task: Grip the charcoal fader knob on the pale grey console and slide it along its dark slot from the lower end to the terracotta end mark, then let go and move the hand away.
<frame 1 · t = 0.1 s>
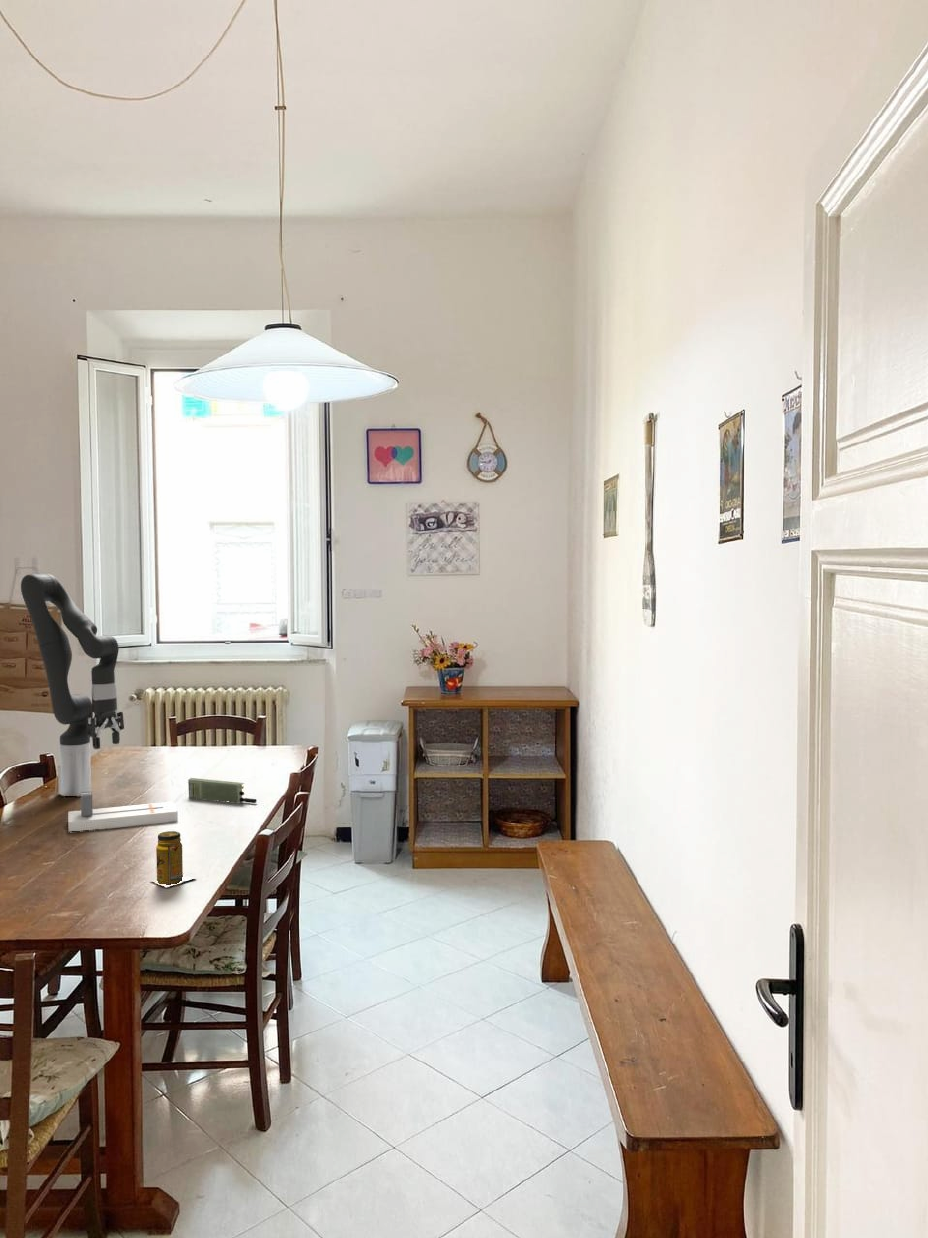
hand: (106, 746, 295), 17 cm above the table, tool pointing down, fingers open, 8 cm apart
condiment: (173, 882, 220), on the table
fader: (86, 803, 265), point 6 cm above the table, slide at 0.0 cm
handheld radio: (222, 802, 294), on the table
console: (123, 821, 270), on the table
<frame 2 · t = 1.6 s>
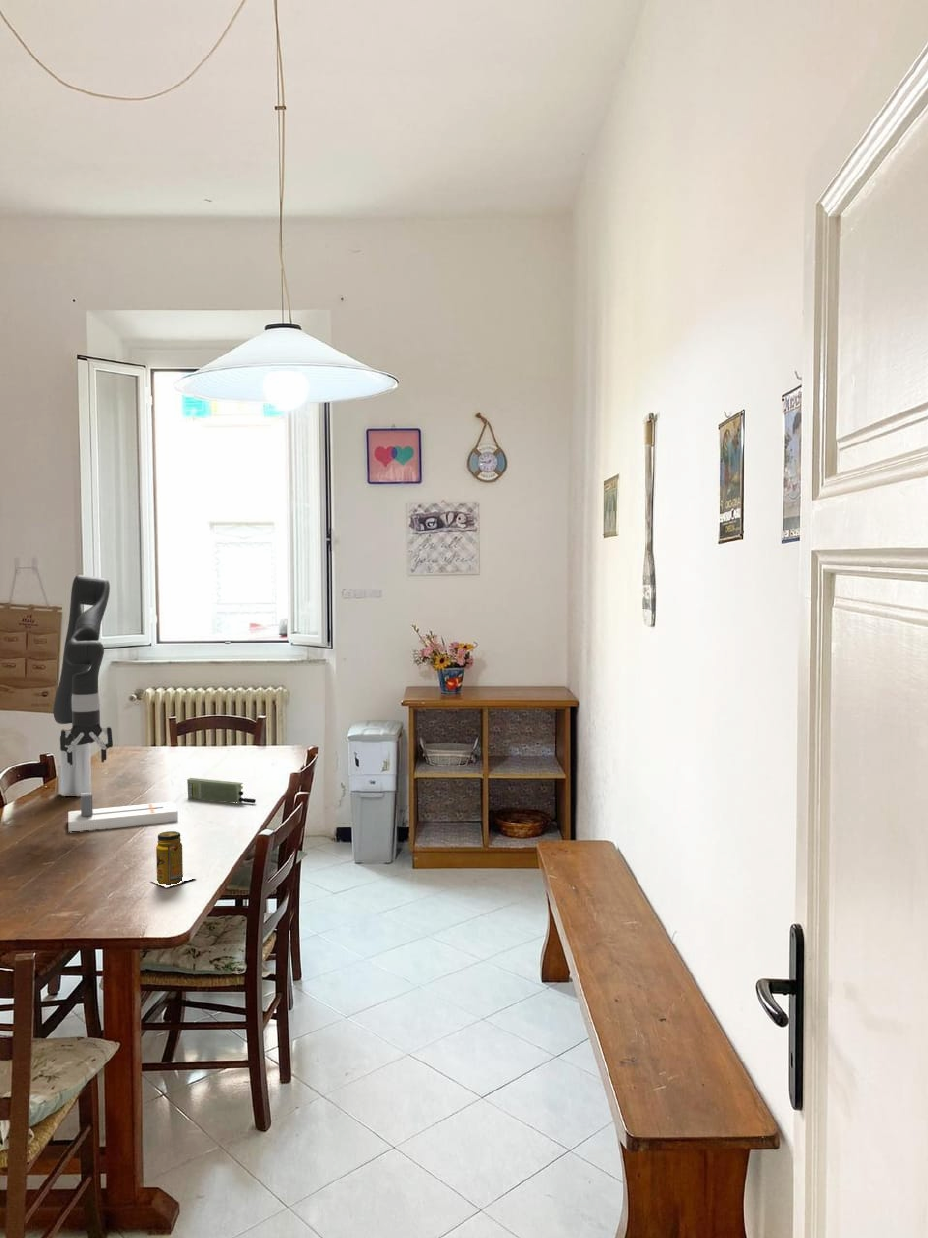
hand: (87, 763, 265), 18 cm above the table, tool pointing down, fingers open, 8 cm apart
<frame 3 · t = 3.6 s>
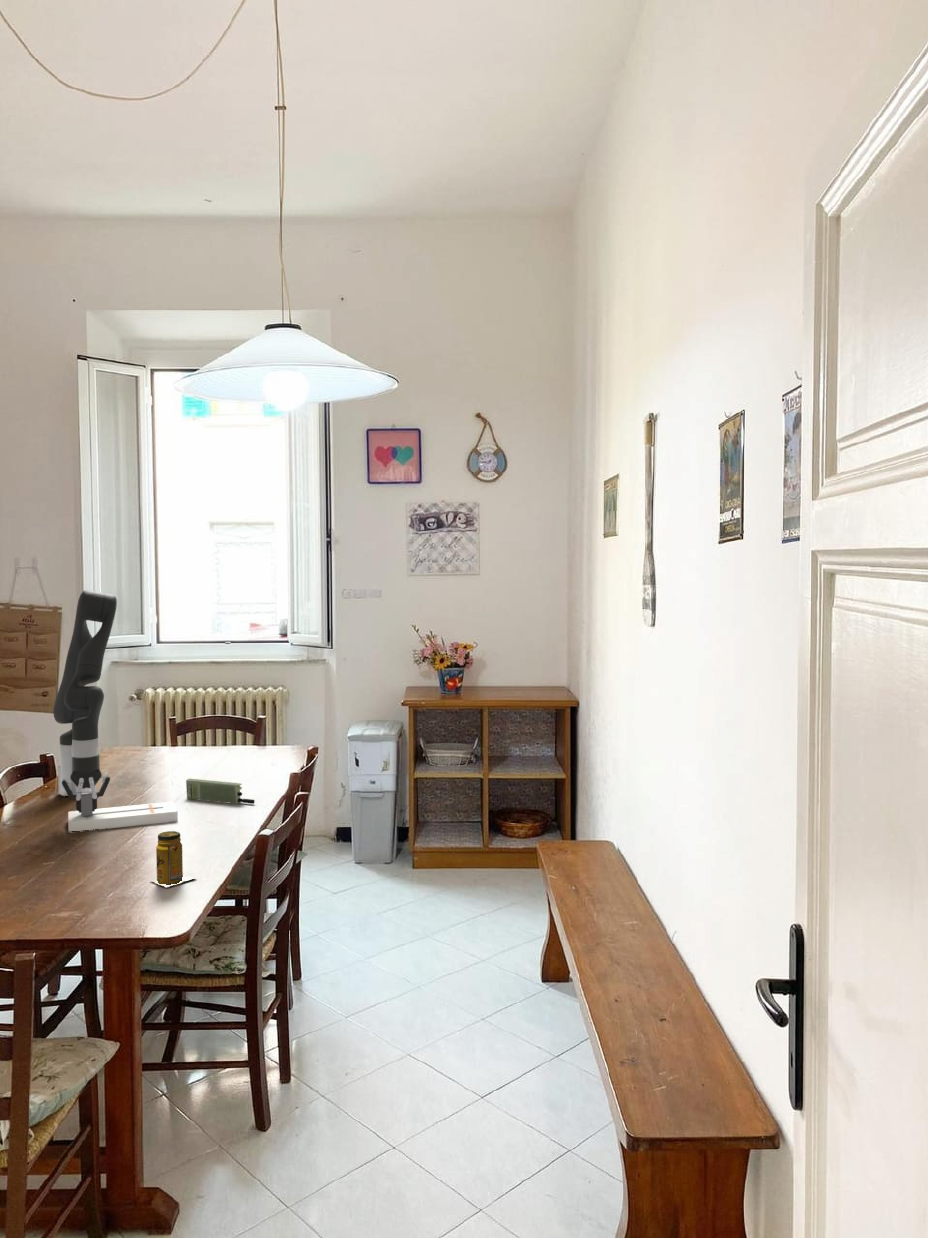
hand: (86, 811, 266), 4 cm above the table, tool pointing down, fingers closed on fader, 3 cm apart
fader: (86, 803, 265), point 6 cm above the table, slide at 0.0 cm, touching gripper
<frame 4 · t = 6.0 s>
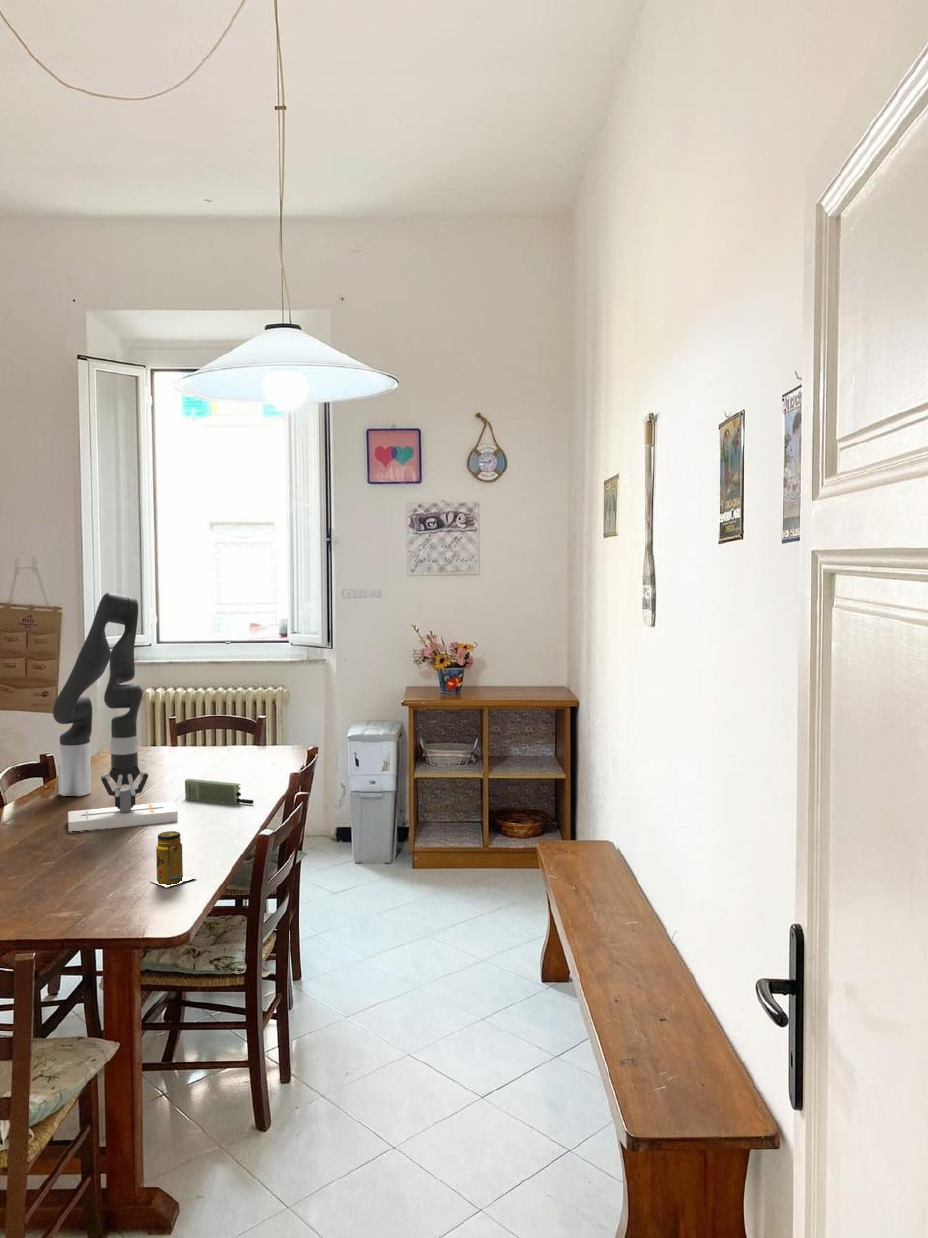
hand: (125, 807, 270), 4 cm above the table, tool pointing down, fingers closed on fader, 3 cm apart
fader: (125, 800, 270), point 6 cm above the table, slide at 10.6 cm, touching gripper
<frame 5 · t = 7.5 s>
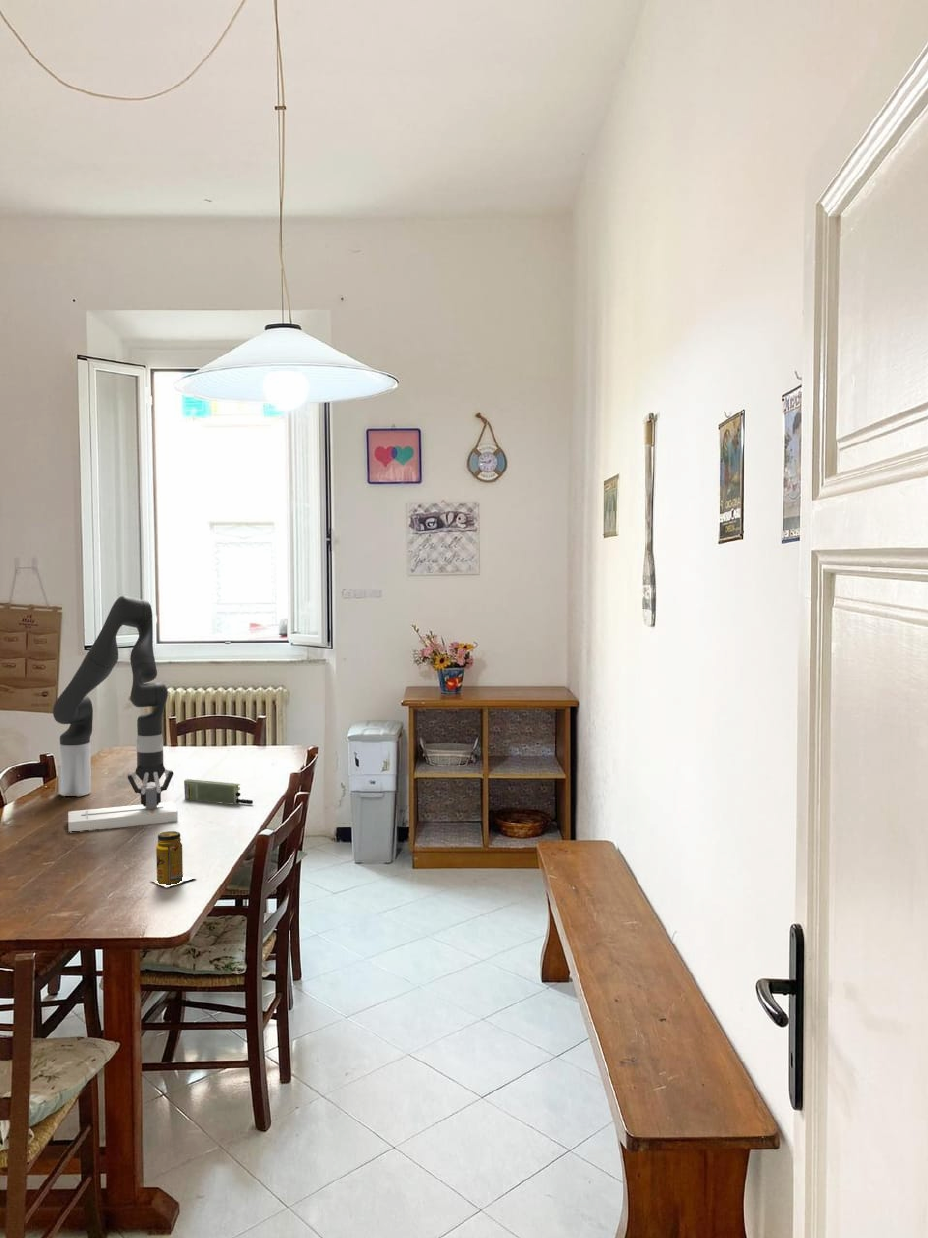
hand: (150, 805, 273), 4 cm above the table, tool pointing down, fingers closed on fader, 3 cm apart
fader: (150, 797, 273), point 6 cm above the table, slide at 17.9 cm, touching gripper
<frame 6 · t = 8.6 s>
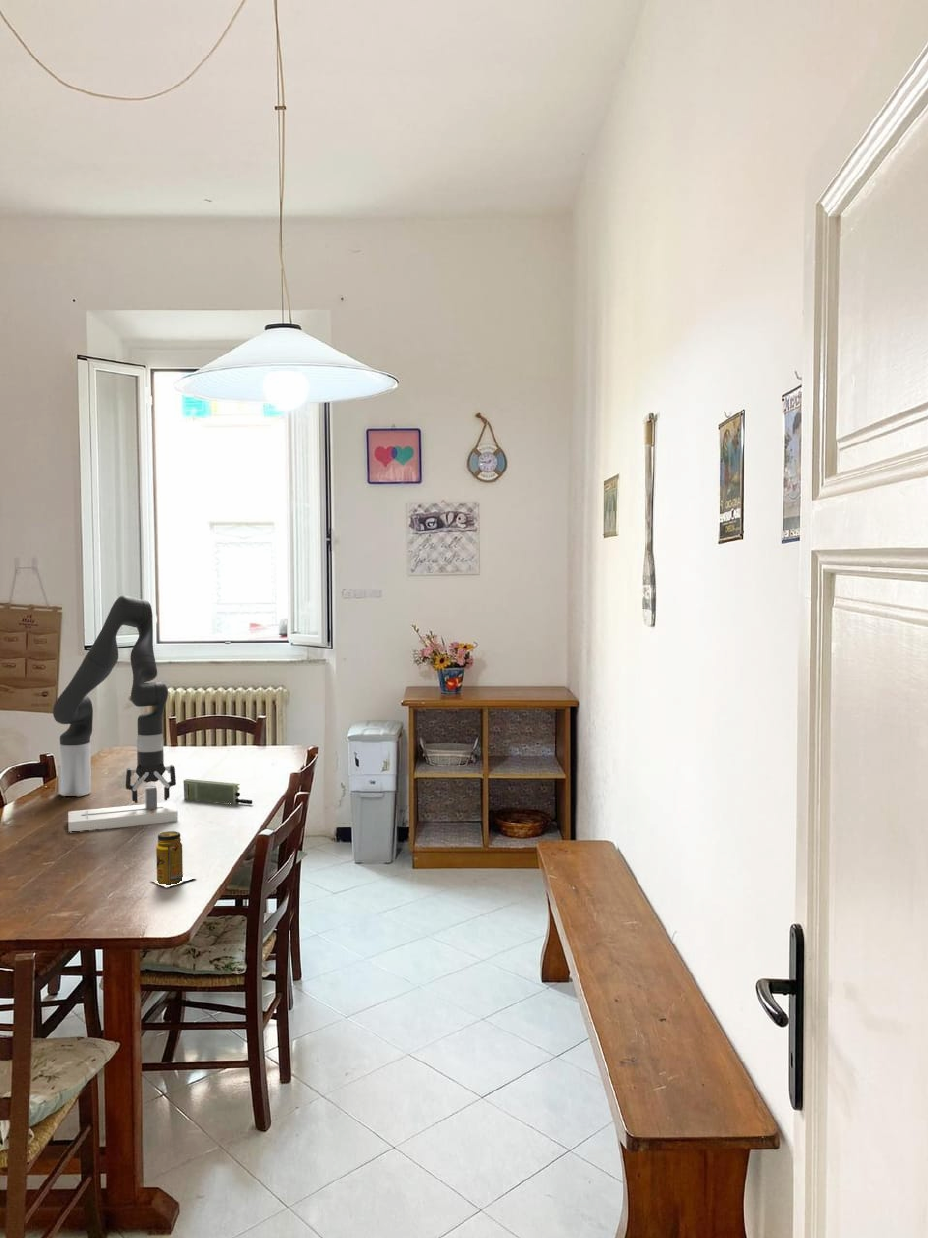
hand: (151, 801, 273), 5 cm above the table, tool pointing down, fingers open, 8 cm apart
fader: (150, 797, 273), point 6 cm above the table, slide at 18.0 cm
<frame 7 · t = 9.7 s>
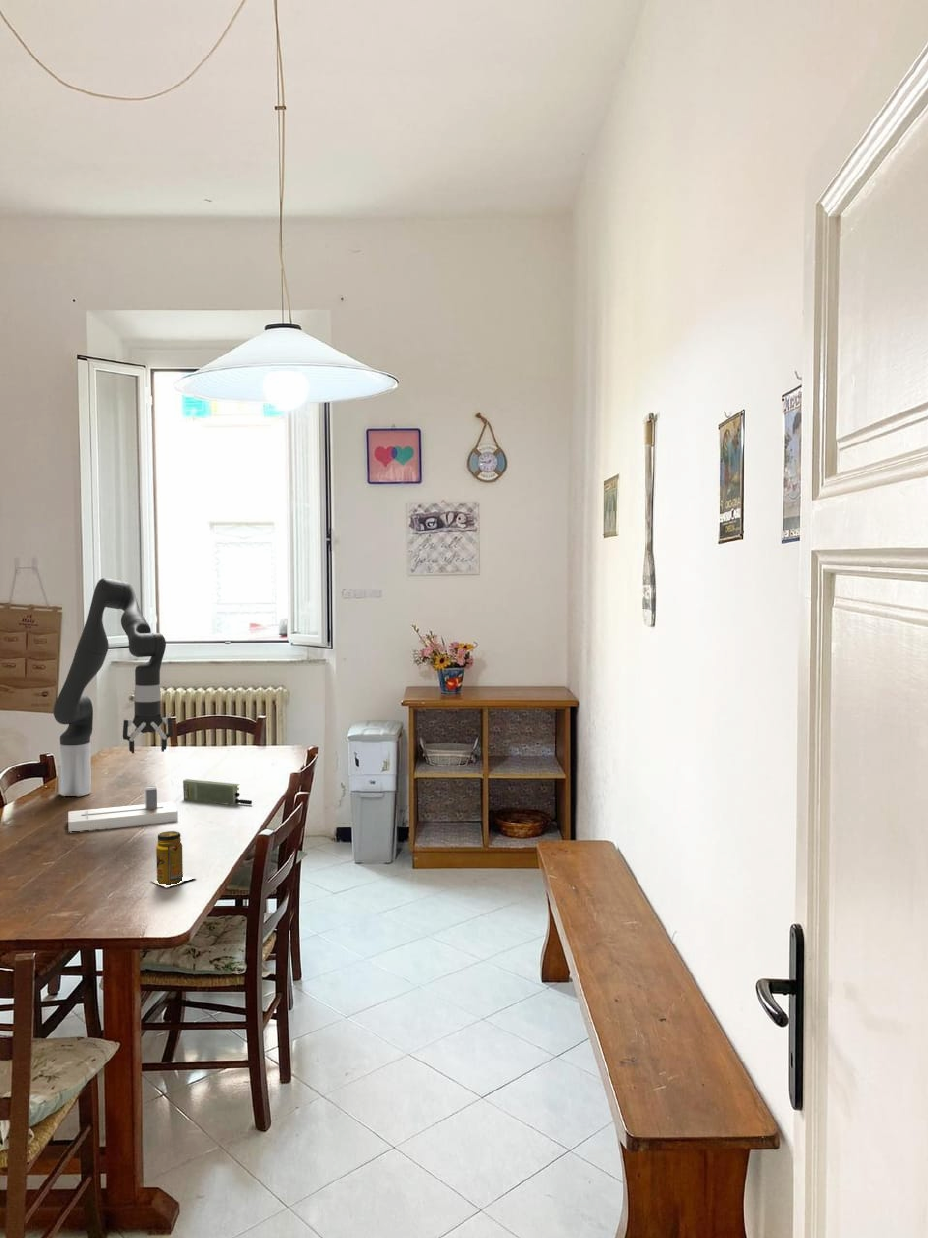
hand: (147, 752, 273), 20 cm above the table, tool pointing down, fingers open, 8 cm apart
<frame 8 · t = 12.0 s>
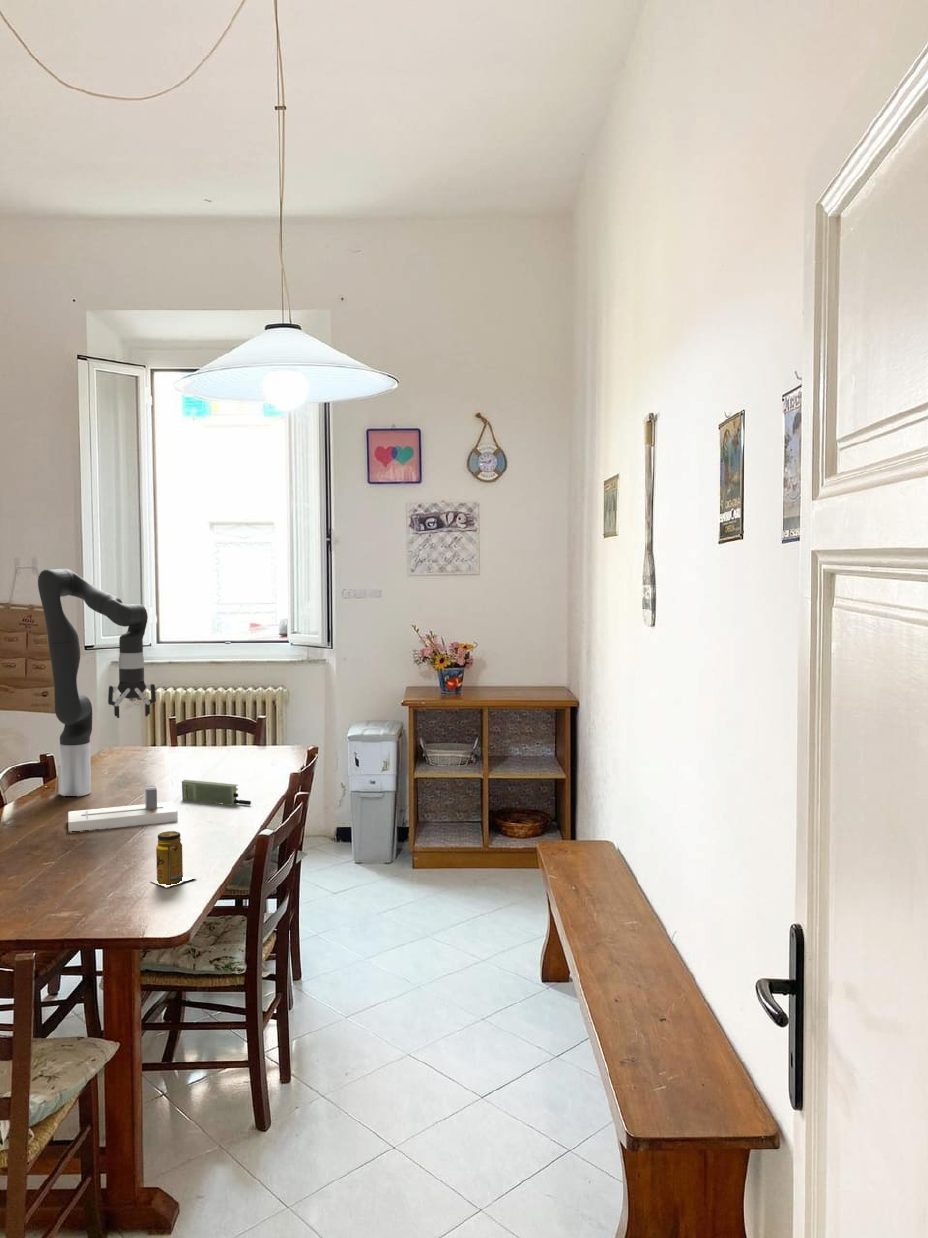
hand: (132, 716, 288), 28 cm above the table, tool pointing down, fingers open, 8 cm apart
at the end: fader slide at 18.0 cm; the gripper is holding nothing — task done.
